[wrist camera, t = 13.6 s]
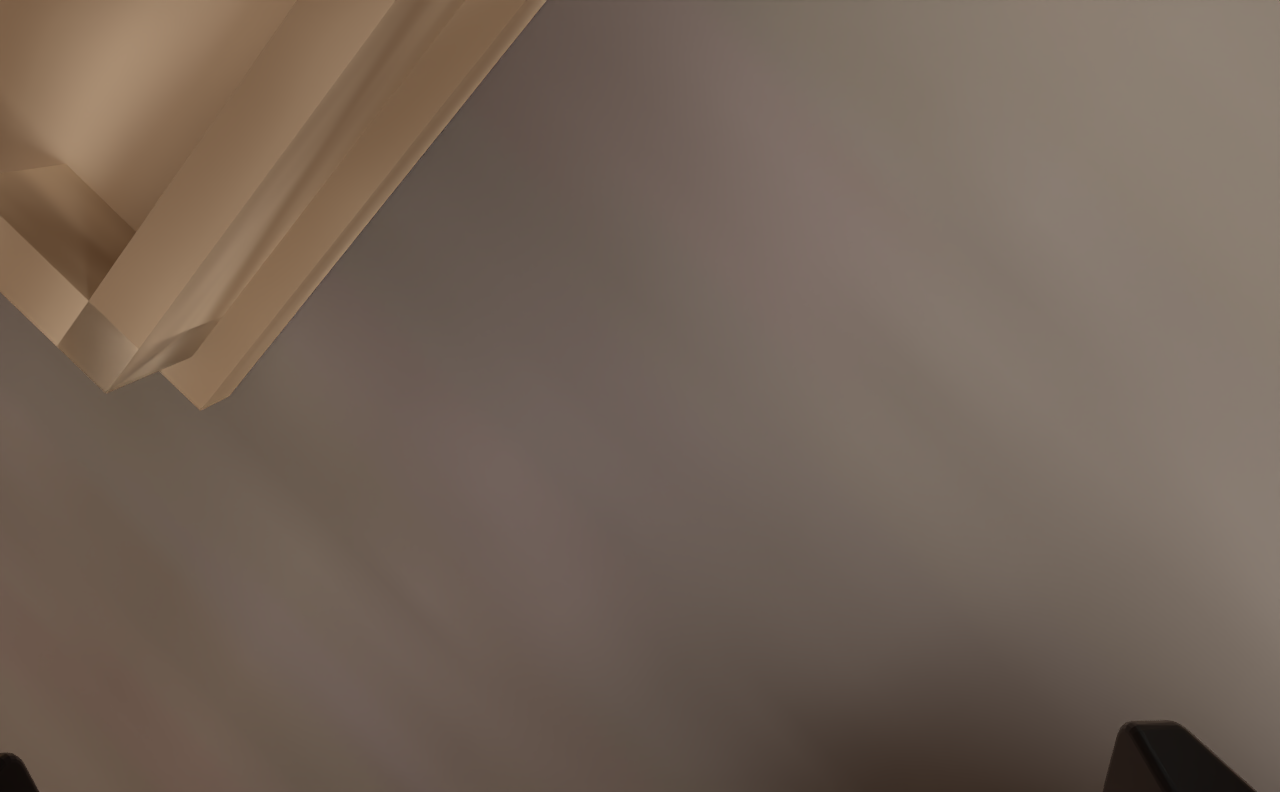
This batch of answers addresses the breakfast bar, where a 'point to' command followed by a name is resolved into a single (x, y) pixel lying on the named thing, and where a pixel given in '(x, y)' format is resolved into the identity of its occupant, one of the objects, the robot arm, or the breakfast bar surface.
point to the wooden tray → (211, 162)
